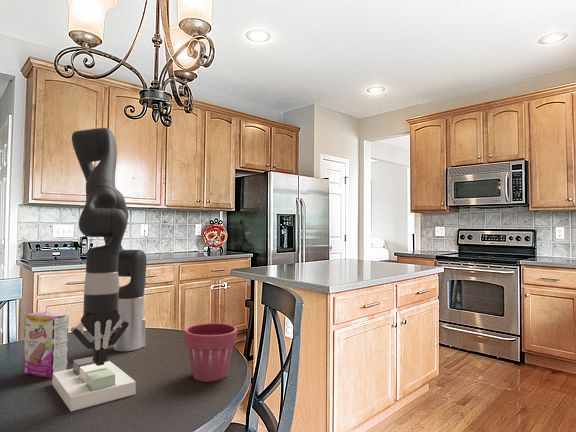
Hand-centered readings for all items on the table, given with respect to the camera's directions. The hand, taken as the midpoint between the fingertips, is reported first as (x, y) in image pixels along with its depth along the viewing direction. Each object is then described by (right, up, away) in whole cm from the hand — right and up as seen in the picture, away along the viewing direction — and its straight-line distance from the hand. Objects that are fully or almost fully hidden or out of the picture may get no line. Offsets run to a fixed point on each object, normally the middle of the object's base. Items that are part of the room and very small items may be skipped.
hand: (99, 364), depth 92 cm
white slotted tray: (-4, -8, +5) cm, 10 cm away
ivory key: (-4, -6, +5) cm, 8 cm away
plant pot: (+24, -9, +14) cm, 29 cm away
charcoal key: (-8, -6, +10) cm, 14 cm away
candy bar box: (-22, -9, +15) cm, 28 cm away
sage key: (0, -5, 0) cm, 5 cm away
